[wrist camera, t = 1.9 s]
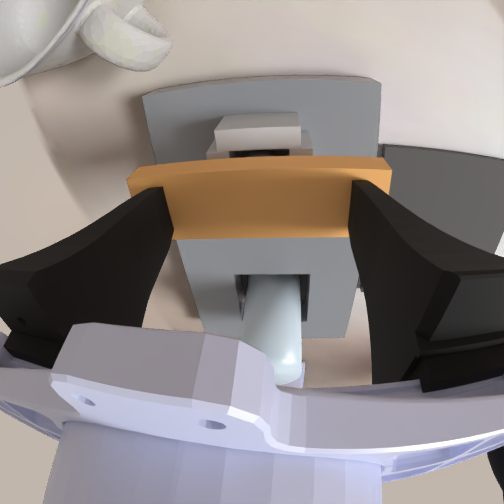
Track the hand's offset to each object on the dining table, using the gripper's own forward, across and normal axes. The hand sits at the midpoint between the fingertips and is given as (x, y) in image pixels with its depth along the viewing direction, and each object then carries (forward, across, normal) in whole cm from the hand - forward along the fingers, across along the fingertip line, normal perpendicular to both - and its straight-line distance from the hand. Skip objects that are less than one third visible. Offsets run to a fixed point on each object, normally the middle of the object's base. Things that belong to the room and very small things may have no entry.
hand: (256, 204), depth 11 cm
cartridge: (+7, 0, +11) cm, 13 cm away
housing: (+7, 0, +6) cm, 9 cm away
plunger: (+4, 0, 0) cm, 4 cm away
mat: (+7, -13, +6) cm, 16 cm away
